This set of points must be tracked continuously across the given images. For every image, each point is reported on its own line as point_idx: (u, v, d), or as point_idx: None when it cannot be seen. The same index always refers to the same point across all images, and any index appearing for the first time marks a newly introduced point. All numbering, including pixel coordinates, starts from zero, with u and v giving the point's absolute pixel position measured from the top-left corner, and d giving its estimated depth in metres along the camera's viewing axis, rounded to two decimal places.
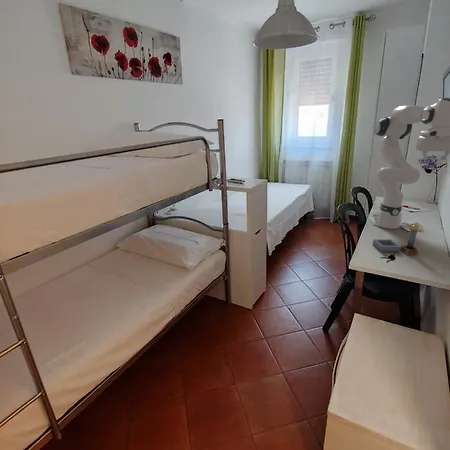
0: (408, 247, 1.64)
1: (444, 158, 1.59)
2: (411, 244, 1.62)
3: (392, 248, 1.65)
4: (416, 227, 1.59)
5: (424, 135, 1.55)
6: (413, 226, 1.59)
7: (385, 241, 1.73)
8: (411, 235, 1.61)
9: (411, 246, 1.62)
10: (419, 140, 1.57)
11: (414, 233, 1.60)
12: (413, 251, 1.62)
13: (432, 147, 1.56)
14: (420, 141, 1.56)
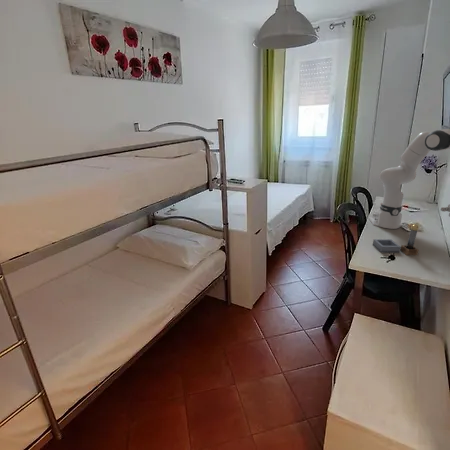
0: (408, 247, 1.64)
1: None
2: (411, 244, 1.62)
3: (392, 248, 1.65)
4: (416, 227, 1.59)
5: None
6: (413, 226, 1.59)
7: (385, 241, 1.73)
8: (411, 235, 1.61)
9: (411, 246, 1.62)
10: None
11: (414, 233, 1.60)
12: (413, 251, 1.62)
13: None
14: None
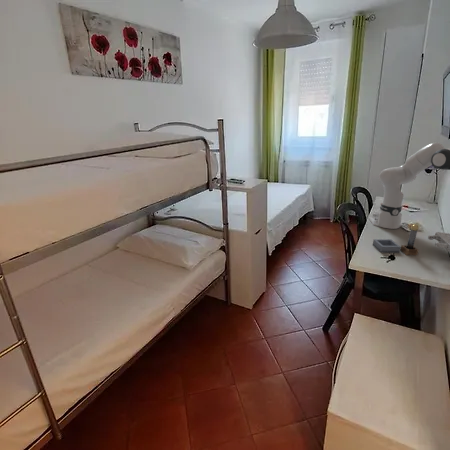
0: (408, 247, 1.64)
1: None
2: (411, 244, 1.62)
3: (392, 248, 1.65)
4: (416, 227, 1.59)
5: None
6: (413, 226, 1.59)
7: (385, 241, 1.73)
8: (411, 235, 1.61)
9: (411, 246, 1.62)
10: None
11: (414, 233, 1.60)
12: (413, 251, 1.62)
13: None
14: None
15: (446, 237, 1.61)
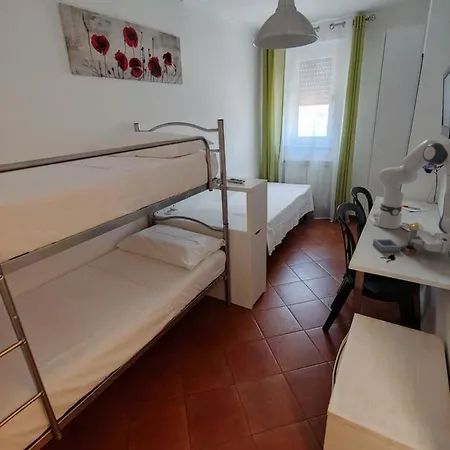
0: (408, 247, 1.64)
1: None
2: (411, 244, 1.62)
3: (392, 248, 1.65)
4: (416, 227, 1.59)
5: (442, 249, 1.53)
6: (413, 226, 1.59)
7: (385, 241, 1.73)
8: (411, 235, 1.61)
9: (411, 246, 1.62)
10: (438, 247, 1.52)
11: (414, 233, 1.60)
12: (413, 251, 1.62)
13: None
14: (436, 249, 1.52)
15: (424, 235, 1.63)
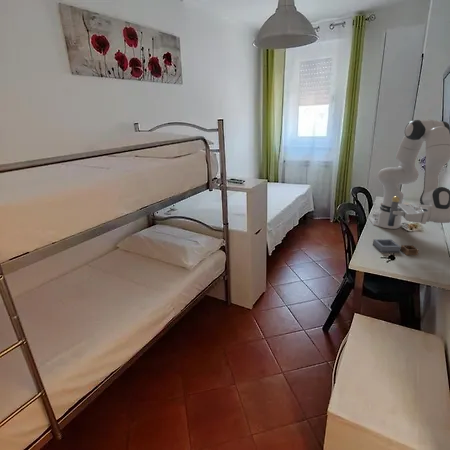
0: (390, 219, 1.63)
1: None
2: (393, 216, 1.62)
3: (392, 248, 1.65)
4: (397, 198, 1.59)
5: (422, 219, 1.53)
6: (394, 197, 1.59)
7: (385, 241, 1.73)
8: (392, 207, 1.61)
9: (392, 218, 1.62)
10: (418, 217, 1.52)
11: (395, 205, 1.60)
12: (413, 251, 1.62)
13: None
14: (416, 219, 1.52)
15: (405, 207, 1.63)
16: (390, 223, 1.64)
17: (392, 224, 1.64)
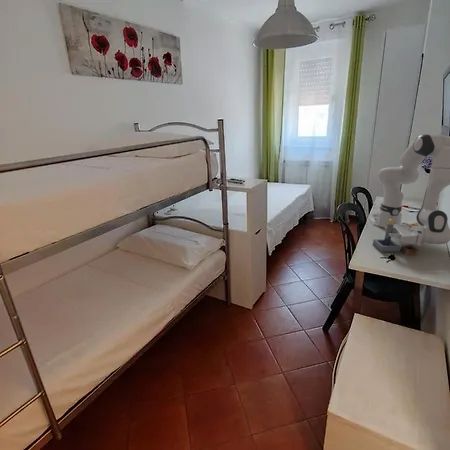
0: (385, 241, 1.68)
1: None
2: (388, 238, 1.67)
3: (392, 248, 1.65)
4: (392, 222, 1.63)
5: (417, 241, 1.57)
6: (389, 221, 1.64)
7: None
8: (388, 229, 1.66)
9: (388, 240, 1.67)
10: (413, 239, 1.56)
11: (390, 227, 1.64)
12: (413, 251, 1.62)
13: None
14: (411, 241, 1.56)
15: (401, 228, 1.67)
16: (386, 245, 1.68)
17: None
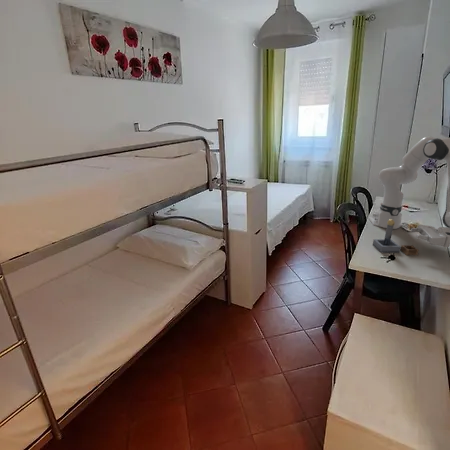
0: (385, 241, 1.68)
1: None
2: (388, 238, 1.66)
3: (392, 248, 1.65)
4: (392, 222, 1.63)
5: (446, 243, 1.54)
6: (389, 221, 1.64)
7: None
8: (388, 230, 1.65)
9: (388, 240, 1.67)
10: (442, 240, 1.53)
11: (390, 228, 1.64)
12: (413, 251, 1.62)
13: None
14: (440, 243, 1.53)
15: (428, 229, 1.64)
16: (386, 245, 1.68)
17: None
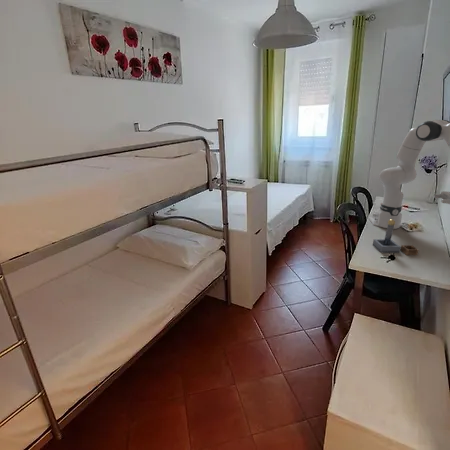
0: (385, 241, 1.68)
1: (435, 197, 1.60)
2: (388, 238, 1.67)
3: (392, 248, 1.65)
4: (393, 222, 1.63)
5: None
6: (390, 221, 1.64)
7: None
8: (388, 230, 1.65)
9: (388, 240, 1.67)
10: None
11: (391, 228, 1.64)
12: (413, 251, 1.62)
13: None
14: None
15: None
16: (386, 245, 1.68)
17: None
